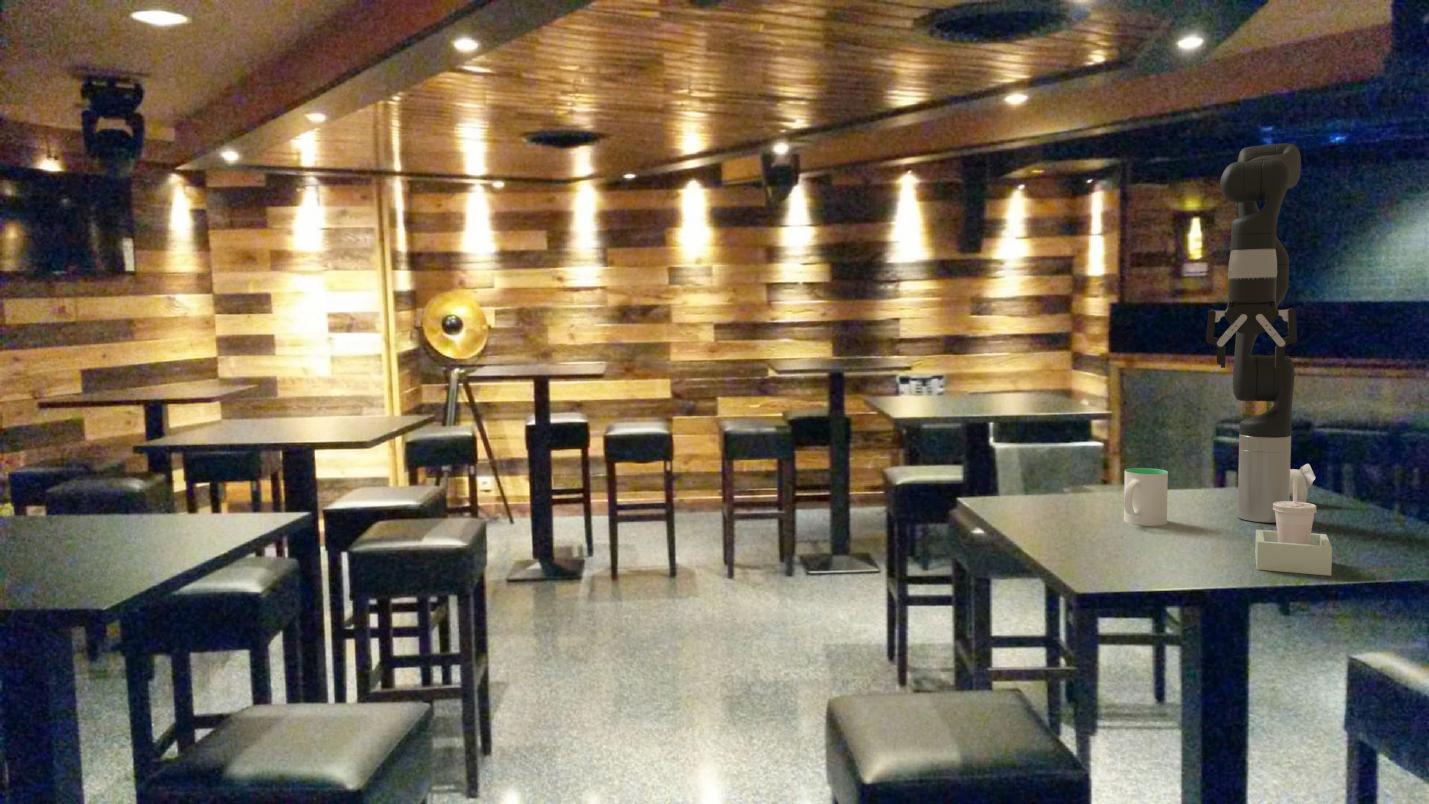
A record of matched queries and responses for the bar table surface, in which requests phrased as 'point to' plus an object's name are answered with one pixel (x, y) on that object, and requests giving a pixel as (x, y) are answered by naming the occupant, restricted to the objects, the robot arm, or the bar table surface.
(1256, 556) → the bin
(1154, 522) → the mug
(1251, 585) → the bar table surface
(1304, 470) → the elephant figurine
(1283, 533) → the smoothie
